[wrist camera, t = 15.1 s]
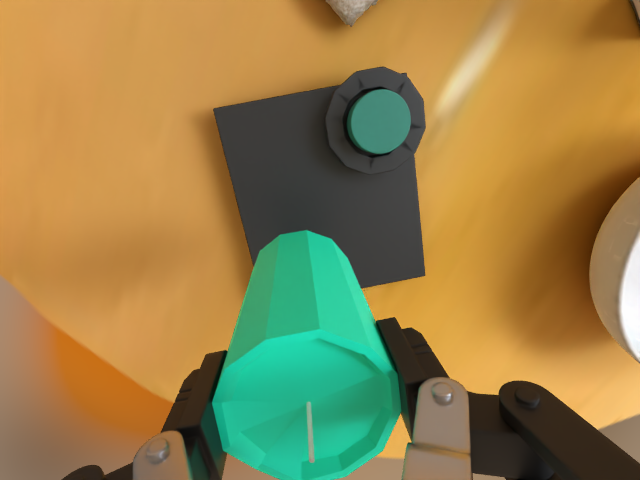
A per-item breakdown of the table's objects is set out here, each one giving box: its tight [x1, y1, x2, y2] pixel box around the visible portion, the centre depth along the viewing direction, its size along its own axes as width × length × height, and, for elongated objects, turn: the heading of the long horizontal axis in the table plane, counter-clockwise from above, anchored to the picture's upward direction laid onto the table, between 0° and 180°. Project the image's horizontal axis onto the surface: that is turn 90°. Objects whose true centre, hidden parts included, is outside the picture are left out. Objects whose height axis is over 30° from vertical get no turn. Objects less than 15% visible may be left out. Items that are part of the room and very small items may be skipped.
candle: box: [212, 230, 401, 480], centre depth 15 cm, size 6×6×12 cm
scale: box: [213, 67, 426, 288], centre depth 26 cm, size 16×14×4 cm
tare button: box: [347, 89, 411, 154], centre depth 23 cm, size 4×4×2 cm
